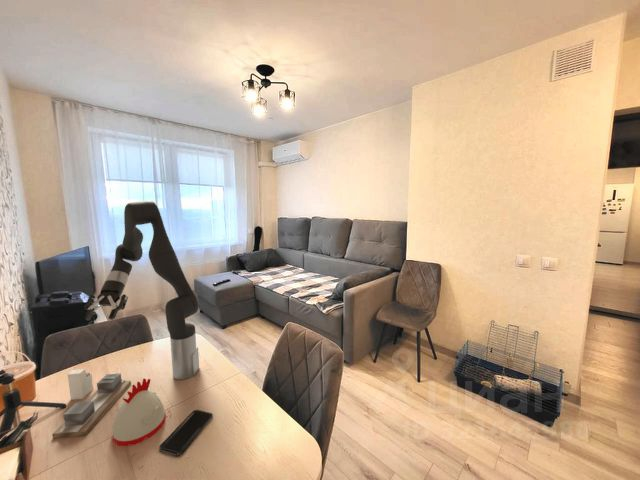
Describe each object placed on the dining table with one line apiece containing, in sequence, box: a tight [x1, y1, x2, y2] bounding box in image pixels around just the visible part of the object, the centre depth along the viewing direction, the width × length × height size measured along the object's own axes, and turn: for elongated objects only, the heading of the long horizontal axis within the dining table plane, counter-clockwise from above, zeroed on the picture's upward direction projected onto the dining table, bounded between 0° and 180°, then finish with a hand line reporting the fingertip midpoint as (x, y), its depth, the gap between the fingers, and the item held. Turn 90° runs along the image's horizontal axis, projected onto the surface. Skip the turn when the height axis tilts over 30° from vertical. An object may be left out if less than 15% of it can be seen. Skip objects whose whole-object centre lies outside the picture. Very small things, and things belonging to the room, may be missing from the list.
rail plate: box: [51, 373, 132, 439], centre depth 89 cm, size 9×23×6 cm, turn 7°
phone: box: [158, 409, 214, 458], centre depth 81 cm, size 8×1×15 cm
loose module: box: [67, 368, 94, 401], centre depth 95 cm, size 4×5×10 cm
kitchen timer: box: [111, 378, 167, 447], centre depth 82 cm, size 14×14×15 cm
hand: (99, 319), depth 105 cm, fingers open, 8 cm apart
